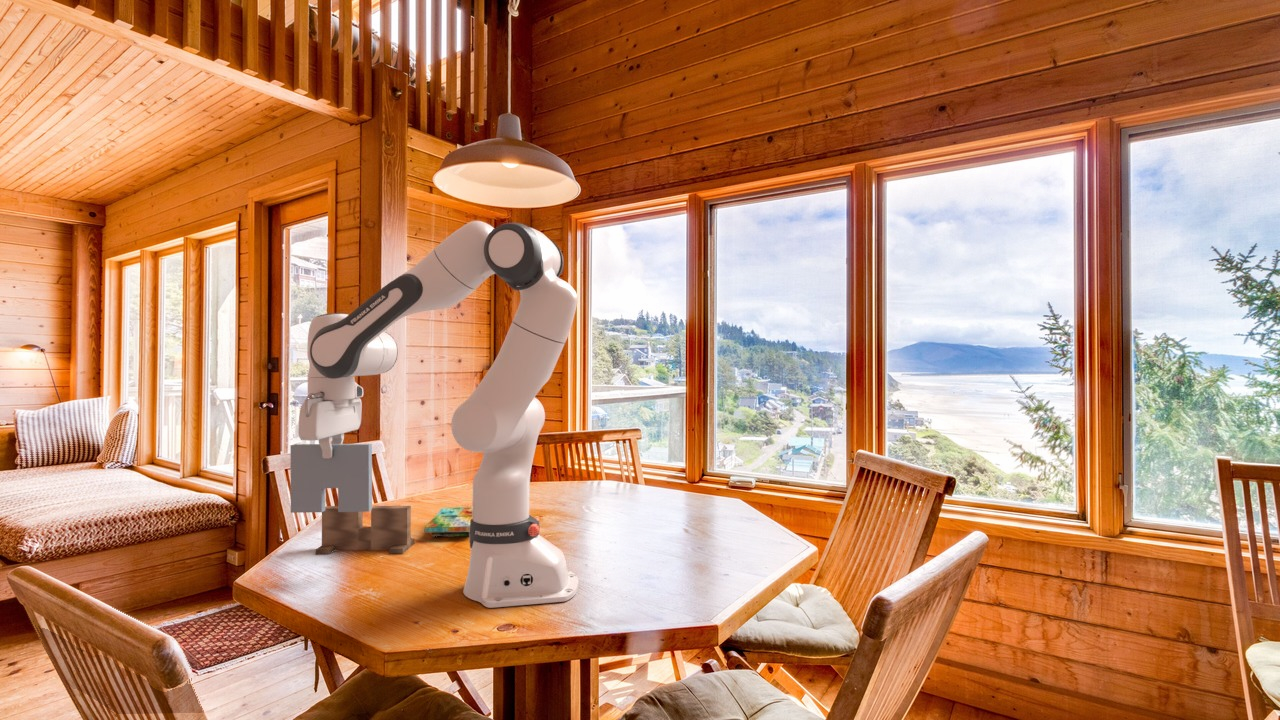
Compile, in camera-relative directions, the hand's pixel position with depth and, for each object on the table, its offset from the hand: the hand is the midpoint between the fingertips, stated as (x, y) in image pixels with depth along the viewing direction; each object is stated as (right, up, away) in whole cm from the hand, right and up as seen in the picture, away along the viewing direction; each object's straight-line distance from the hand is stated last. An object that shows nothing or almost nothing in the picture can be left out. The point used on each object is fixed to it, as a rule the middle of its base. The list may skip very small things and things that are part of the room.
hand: (331, 456), depth 125 cm
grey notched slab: (0, -11, 0) cm, 11 cm away
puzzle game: (+16, -26, +35) cm, 46 cm away
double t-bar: (-1, -25, +18) cm, 31 cm away
